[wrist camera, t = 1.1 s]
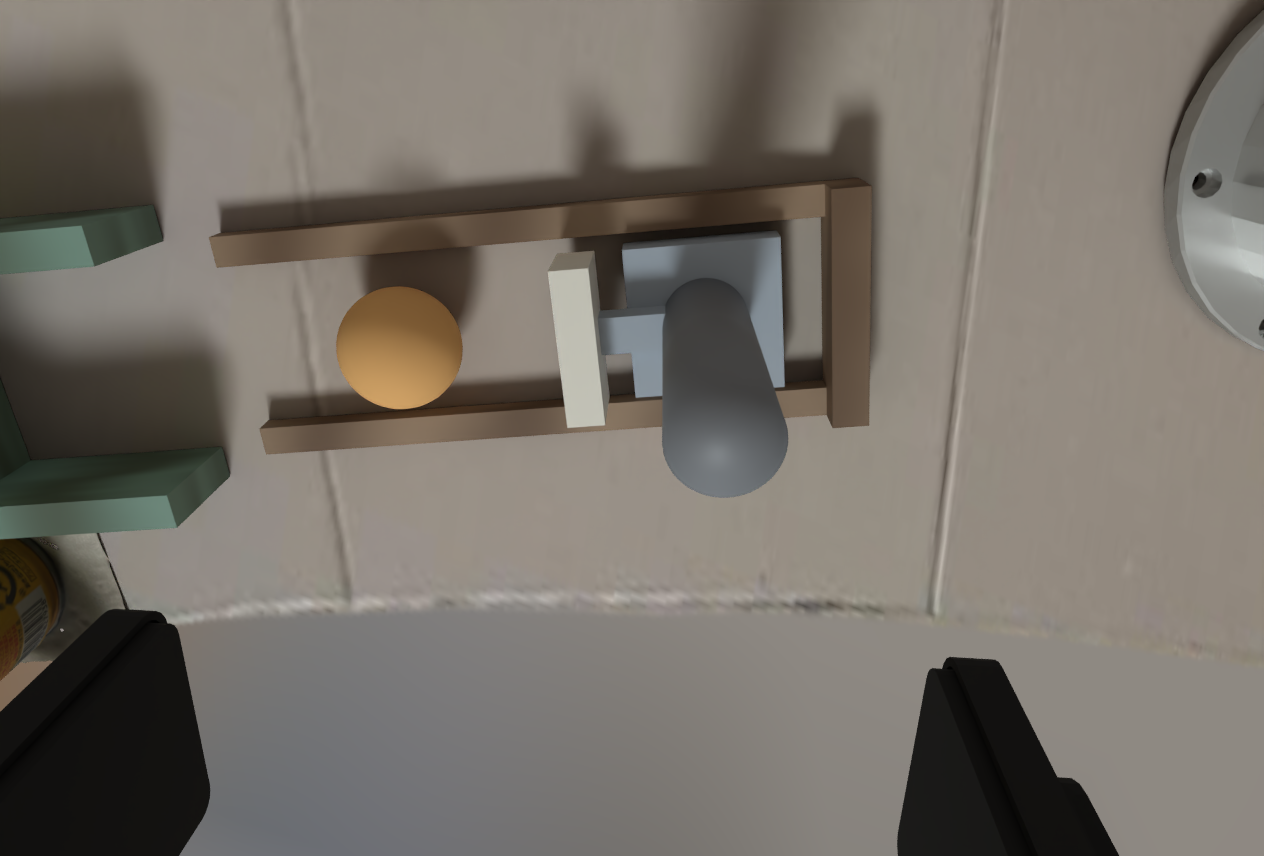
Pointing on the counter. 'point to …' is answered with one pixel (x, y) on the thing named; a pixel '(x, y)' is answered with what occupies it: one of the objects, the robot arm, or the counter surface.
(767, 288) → the kicker
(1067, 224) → the counter surface
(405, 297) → the ball
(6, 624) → the condiment
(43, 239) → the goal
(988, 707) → the robot arm
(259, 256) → the track
